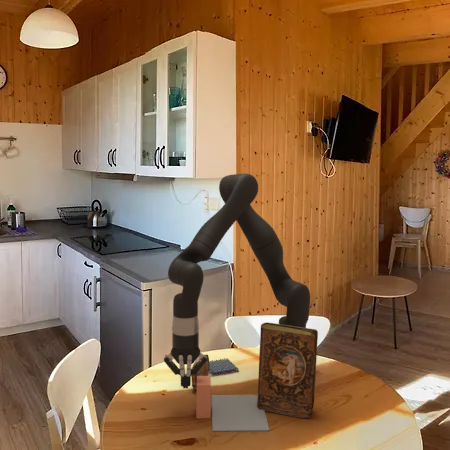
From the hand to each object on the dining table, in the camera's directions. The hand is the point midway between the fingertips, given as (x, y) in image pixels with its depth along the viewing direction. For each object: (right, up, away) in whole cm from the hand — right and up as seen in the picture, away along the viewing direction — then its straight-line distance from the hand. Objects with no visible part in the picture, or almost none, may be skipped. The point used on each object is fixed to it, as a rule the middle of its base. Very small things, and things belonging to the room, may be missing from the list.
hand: (185, 387), depth 140 cm
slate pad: (+15, -8, +2) cm, 17 cm away
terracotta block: (+5, -8, +1) cm, 9 cm away
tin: (+3, -6, +20) cm, 21 cm away
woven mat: (+10, -5, +31) cm, 33 cm away
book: (+29, -8, +3) cm, 30 cm away
